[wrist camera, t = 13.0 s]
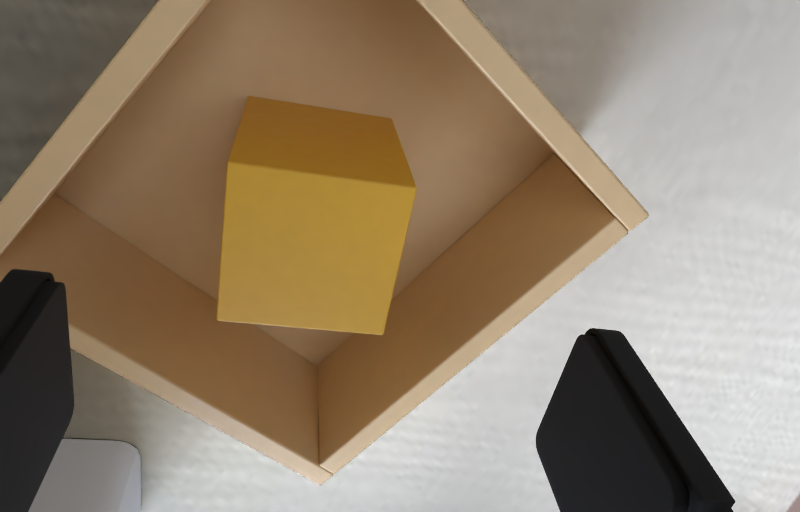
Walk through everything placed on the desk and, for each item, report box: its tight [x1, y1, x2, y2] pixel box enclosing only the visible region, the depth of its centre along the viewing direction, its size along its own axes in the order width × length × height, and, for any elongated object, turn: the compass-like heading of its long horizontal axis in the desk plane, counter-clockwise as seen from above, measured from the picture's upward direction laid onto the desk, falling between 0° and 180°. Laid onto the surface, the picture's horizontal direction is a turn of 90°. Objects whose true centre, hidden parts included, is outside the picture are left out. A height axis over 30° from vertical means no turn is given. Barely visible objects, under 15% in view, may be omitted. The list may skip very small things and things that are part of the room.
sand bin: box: [0, 0, 649, 485], centre depth 19 cm, size 13×12×6 cm
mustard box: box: [216, 96, 417, 335], centre depth 18 cm, size 4×4×6 cm
